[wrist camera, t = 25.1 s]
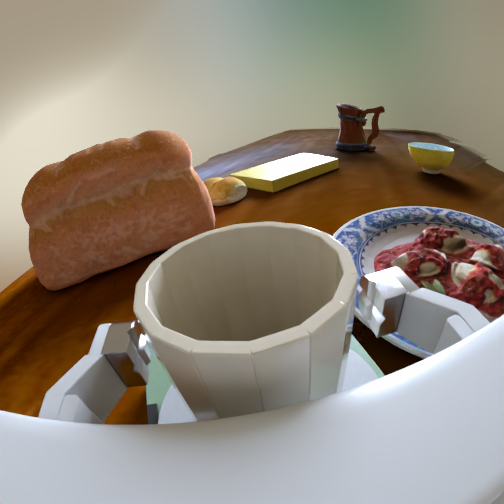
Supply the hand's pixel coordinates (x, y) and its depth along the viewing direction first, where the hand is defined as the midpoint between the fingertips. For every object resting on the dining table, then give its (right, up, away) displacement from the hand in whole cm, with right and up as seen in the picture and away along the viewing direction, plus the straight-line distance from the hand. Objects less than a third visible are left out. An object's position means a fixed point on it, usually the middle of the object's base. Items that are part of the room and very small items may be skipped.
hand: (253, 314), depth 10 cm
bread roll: (-5, +11, +41) cm, 42 cm away
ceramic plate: (+19, 0, +12) cm, 23 cm away
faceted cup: (+1, -5, +2) cm, 6 cm away
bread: (-18, +2, +27) cm, 33 cm away
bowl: (+41, +20, +44) cm, 64 cm away
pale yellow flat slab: (+9, +19, +51) cm, 55 cm away
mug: (+34, +34, +71) cm, 86 cm away
